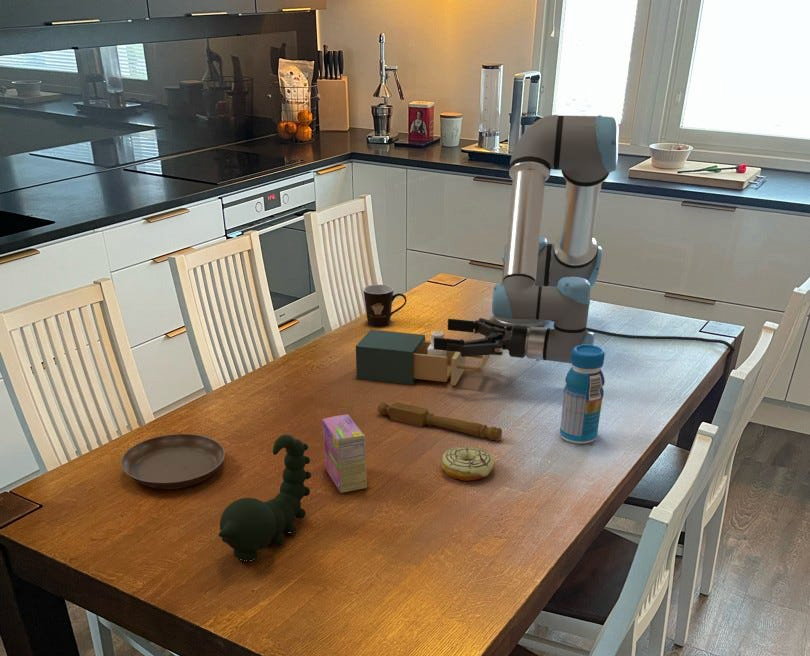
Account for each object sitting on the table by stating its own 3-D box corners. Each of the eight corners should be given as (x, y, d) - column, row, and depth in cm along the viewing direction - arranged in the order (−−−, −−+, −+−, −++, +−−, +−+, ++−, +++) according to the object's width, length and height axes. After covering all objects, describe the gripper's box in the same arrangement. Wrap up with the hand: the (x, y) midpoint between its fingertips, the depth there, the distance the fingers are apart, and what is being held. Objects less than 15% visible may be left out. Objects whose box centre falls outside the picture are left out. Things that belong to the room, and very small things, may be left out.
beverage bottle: (557, 442, 186) (566, 355, 175) (560, 426, 192) (569, 340, 181) (596, 447, 184) (608, 359, 173) (598, 429, 191) (610, 344, 180)
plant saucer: (246, 461, 179) (245, 447, 177) (178, 506, 164) (175, 491, 162) (173, 438, 188) (171, 425, 186) (101, 479, 173) (98, 464, 171)
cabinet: (425, 366, 221) (425, 334, 216) (412, 385, 212) (412, 351, 207) (371, 360, 225) (370, 329, 220) (356, 378, 215) (355, 345, 210)
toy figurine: (282, 512, 165) (200, 571, 145) (278, 420, 156) (190, 469, 136) (323, 524, 162) (245, 585, 142) (322, 431, 152) (239, 482, 133)
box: (325, 470, 176) (321, 417, 169) (351, 465, 178) (349, 413, 171) (339, 494, 168) (337, 440, 161) (367, 489, 169) (365, 435, 163)
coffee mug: (358, 325, 247) (357, 291, 241) (373, 316, 253) (372, 282, 248) (394, 332, 242) (393, 297, 237) (408, 322, 249) (408, 288, 243)
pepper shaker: (446, 367, 215) (447, 331, 210) (441, 373, 212) (442, 337, 207) (431, 366, 217) (432, 329, 211) (426, 371, 213) (427, 335, 208)
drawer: (489, 371, 216) (490, 345, 213) (480, 388, 208) (481, 361, 204) (414, 363, 221) (414, 338, 217) (402, 379, 212) (402, 353, 208)
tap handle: (497, 431, 184) (375, 404, 195) (496, 444, 185) (375, 416, 197) (502, 425, 186) (381, 399, 197) (502, 438, 188) (382, 411, 199)
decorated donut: (495, 484, 171) (496, 468, 169) (441, 483, 171) (442, 467, 169) (492, 459, 179) (493, 443, 177) (441, 458, 180) (441, 442, 178)
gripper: (516, 377, 196) (427, 367, 201) (534, 339, 216) (453, 331, 221) (519, 345, 192) (428, 336, 197) (537, 310, 212) (454, 302, 217)
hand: (441, 333), depth 209 cm, fingers open, 13 cm apart
